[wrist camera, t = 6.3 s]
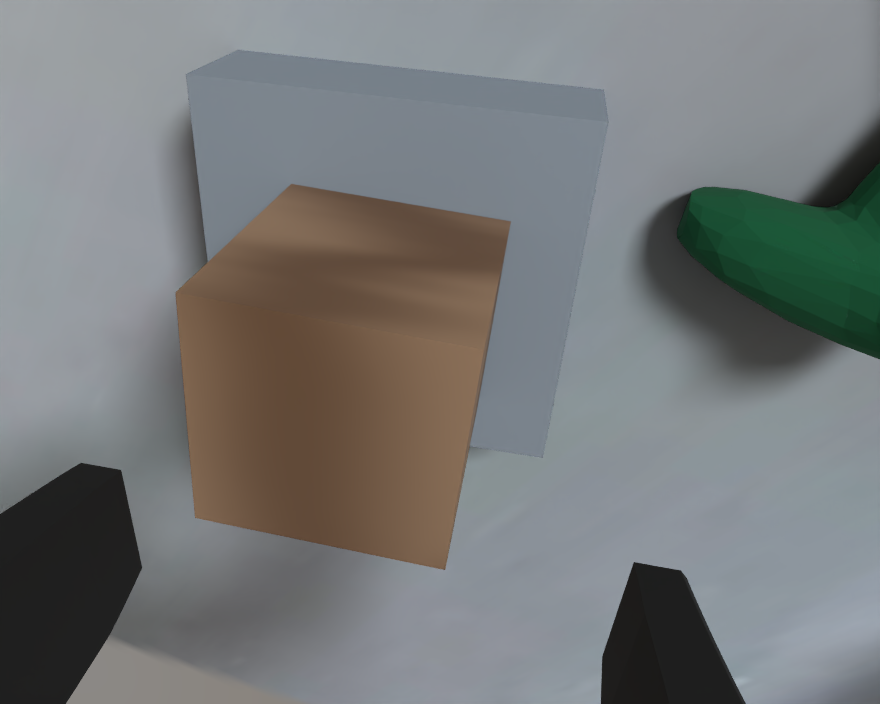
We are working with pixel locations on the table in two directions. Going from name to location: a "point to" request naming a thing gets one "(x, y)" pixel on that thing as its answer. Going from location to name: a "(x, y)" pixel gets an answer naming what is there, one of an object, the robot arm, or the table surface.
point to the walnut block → (340, 370)
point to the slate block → (421, 185)
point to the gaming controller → (796, 256)
